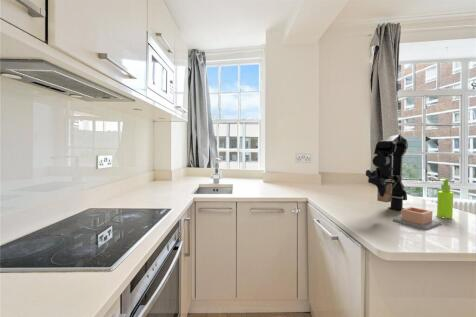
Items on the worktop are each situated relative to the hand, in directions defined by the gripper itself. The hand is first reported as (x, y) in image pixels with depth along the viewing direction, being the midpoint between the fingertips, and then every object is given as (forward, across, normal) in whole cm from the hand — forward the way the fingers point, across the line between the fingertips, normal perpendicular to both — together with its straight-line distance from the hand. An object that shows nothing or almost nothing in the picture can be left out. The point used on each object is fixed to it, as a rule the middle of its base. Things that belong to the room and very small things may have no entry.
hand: (384, 196), depth 114 cm
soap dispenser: (+12, -29, +13) cm, 34 cm away
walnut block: (+2, 0, 0) cm, 2 cm away
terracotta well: (+12, -8, +11) cm, 18 cm away
